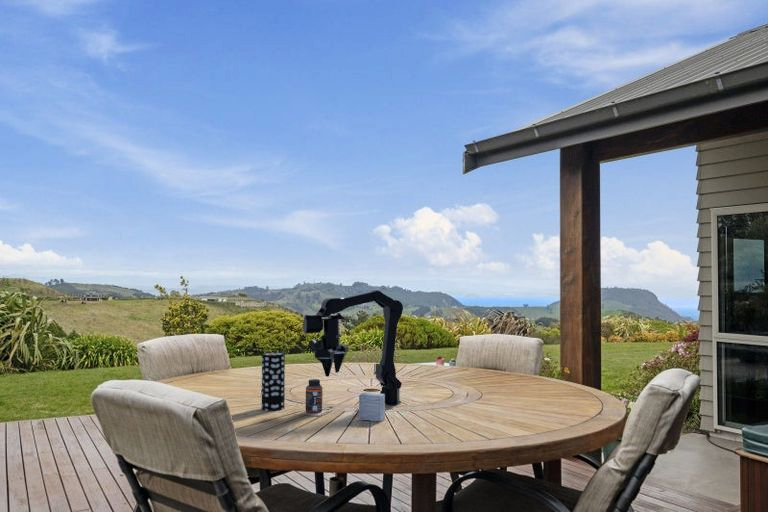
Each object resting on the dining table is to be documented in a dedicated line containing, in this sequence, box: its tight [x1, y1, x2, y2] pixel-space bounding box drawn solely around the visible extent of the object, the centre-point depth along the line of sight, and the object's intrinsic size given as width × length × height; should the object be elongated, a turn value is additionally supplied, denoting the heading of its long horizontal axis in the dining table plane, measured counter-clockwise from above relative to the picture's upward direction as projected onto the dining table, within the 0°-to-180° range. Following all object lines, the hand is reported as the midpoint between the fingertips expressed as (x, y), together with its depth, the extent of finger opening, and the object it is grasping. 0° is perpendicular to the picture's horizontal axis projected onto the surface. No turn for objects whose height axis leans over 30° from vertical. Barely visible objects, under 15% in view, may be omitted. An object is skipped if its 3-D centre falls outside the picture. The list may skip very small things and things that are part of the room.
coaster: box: [298, 409, 330, 417], centre depth 216 cm, size 8×8×1 cm
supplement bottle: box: [305, 378, 324, 413], centre depth 217 cm, size 6×6×11 cm
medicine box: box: [358, 392, 386, 422], centre depth 206 cm, size 8×4×9 cm, turn 71°
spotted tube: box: [261, 352, 286, 412], centre depth 225 cm, size 8×8×20 cm
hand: (332, 374), depth 226 cm, fingers open, 9 cm apart
